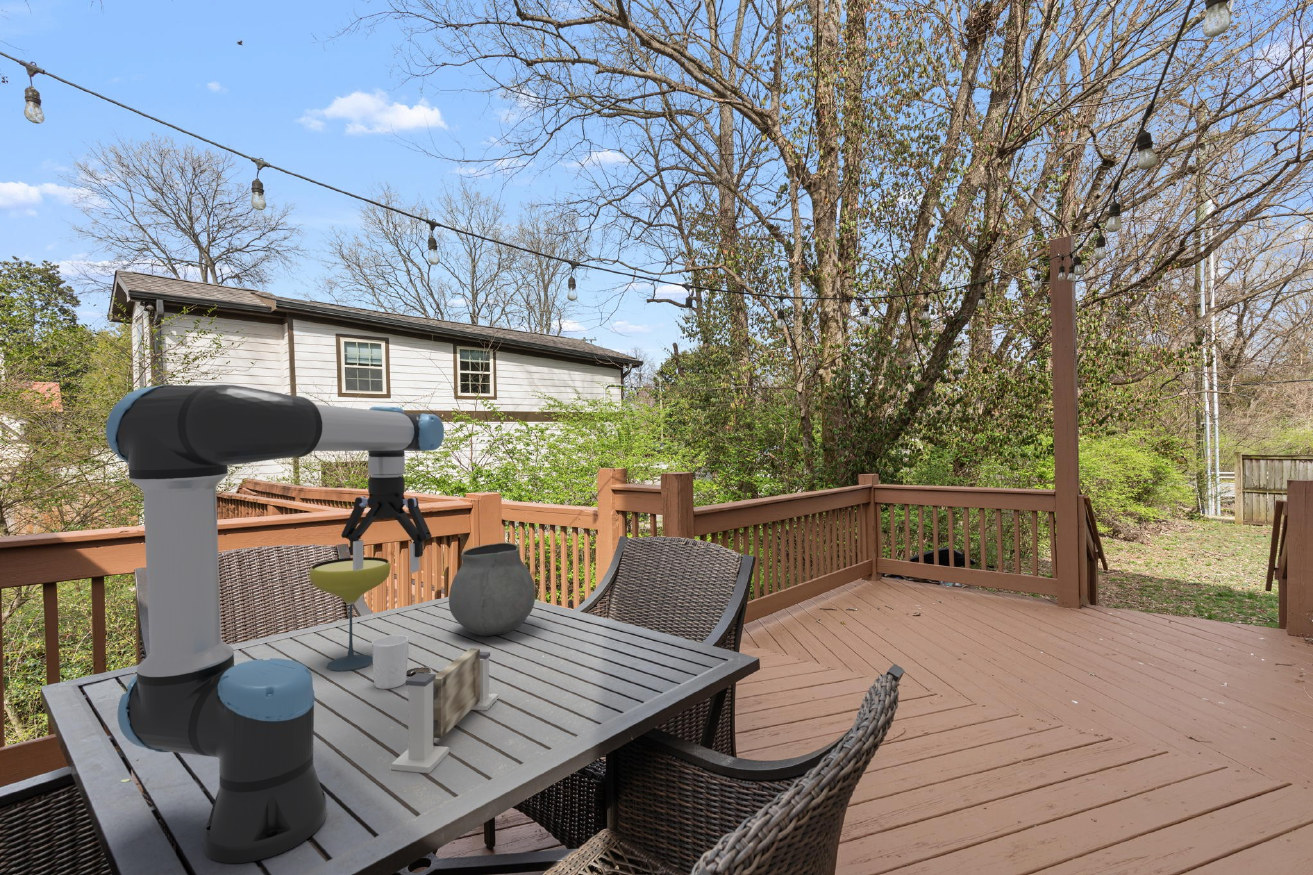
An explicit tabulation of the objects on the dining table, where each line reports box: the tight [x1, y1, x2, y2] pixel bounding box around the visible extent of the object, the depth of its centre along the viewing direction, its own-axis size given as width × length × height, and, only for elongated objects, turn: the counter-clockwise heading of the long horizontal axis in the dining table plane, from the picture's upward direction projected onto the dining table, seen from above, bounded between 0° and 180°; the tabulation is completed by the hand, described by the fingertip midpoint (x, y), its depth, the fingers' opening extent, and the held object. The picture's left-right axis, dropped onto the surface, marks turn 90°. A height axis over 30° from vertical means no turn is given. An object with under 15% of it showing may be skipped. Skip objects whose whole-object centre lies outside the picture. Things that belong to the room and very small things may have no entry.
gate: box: [433, 647, 481, 746], centre depth 122 cm, size 20×2×11 cm, turn 171°
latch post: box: [470, 651, 499, 711], centre depth 134 cm, size 6×6×11 cm
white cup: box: [371, 634, 410, 690], centre depth 145 cm, size 8×8×10 cm
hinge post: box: [390, 672, 450, 774], centre depth 110 cm, size 7×7×15 cm
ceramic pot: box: [448, 542, 536, 637], centre depth 182 cm, size 24×24×25 cm
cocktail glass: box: [309, 556, 391, 672], centre depth 157 cm, size 18×18×25 cm
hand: (386, 570), depth 140 cm, fingers open, 13 cm apart
